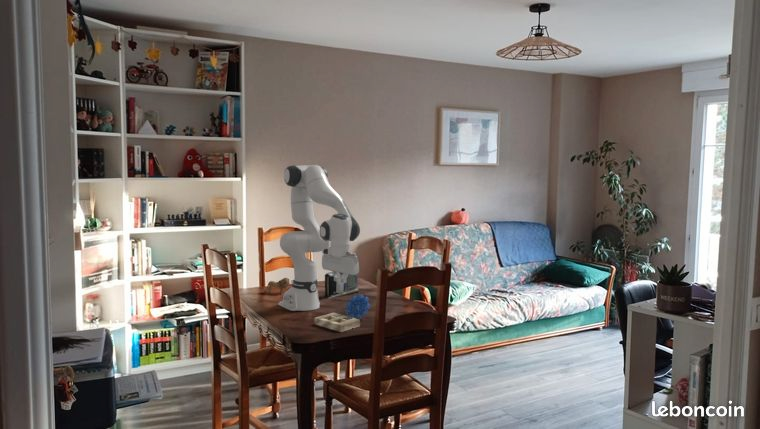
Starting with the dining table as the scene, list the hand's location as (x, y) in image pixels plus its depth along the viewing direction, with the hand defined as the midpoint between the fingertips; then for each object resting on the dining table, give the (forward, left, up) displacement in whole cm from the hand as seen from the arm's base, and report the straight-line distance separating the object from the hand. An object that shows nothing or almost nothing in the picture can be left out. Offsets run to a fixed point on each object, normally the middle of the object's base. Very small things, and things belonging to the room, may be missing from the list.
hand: (340, 282), depth 248 cm
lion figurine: (-71, +22, -21) cm, 77 cm away
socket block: (-3, +2, -21) cm, 21 cm away
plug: (0, 0, -5) cm, 5 cm away
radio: (-43, +44, -21) cm, 65 cm away
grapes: (-4, +16, -21) cm, 26 cm away
